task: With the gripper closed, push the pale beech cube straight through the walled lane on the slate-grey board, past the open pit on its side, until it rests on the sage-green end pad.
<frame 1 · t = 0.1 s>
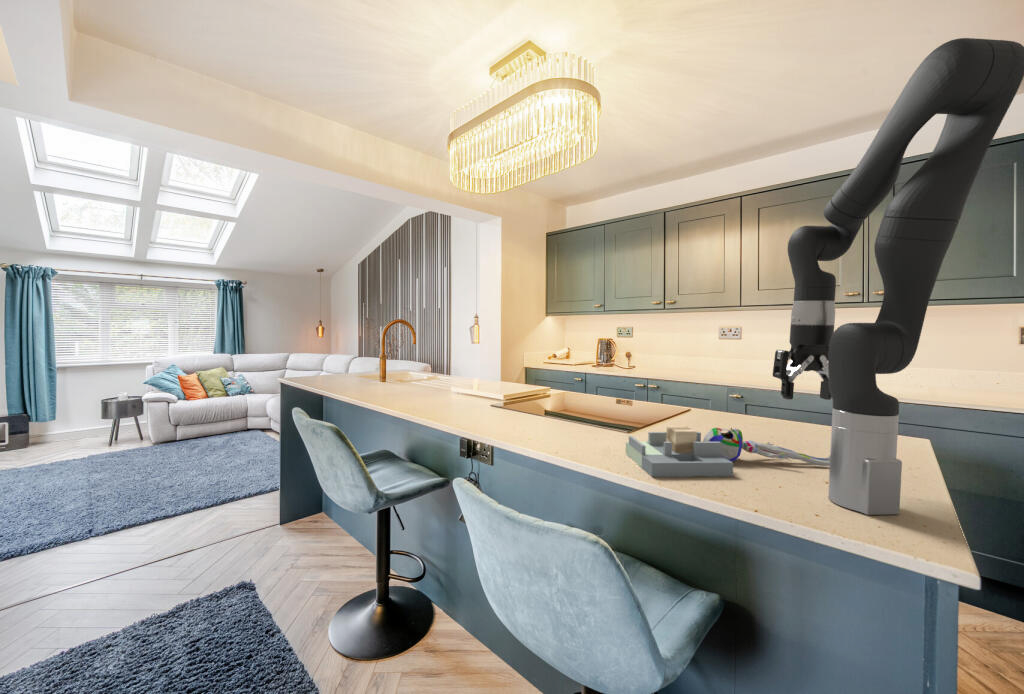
hand: (806, 398, 90), 17 cm above the table, tool pointing down, fingers open, 8 cm apart
toy: (770, 464, 101), on the table
block: (680, 449, 100), point 3 cm above the table, touching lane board
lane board: (672, 461, 100), on the table
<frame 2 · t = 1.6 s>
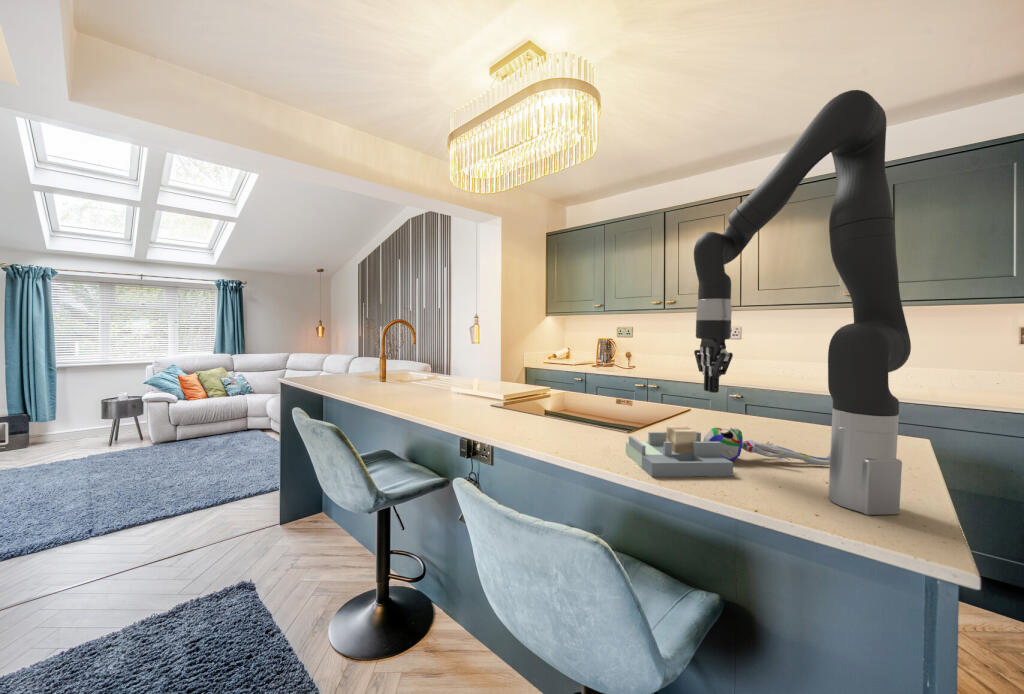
hand: (711, 391, 100), 17 cm above the table, tool pointing down, fingers closed
nothing on the table moved.
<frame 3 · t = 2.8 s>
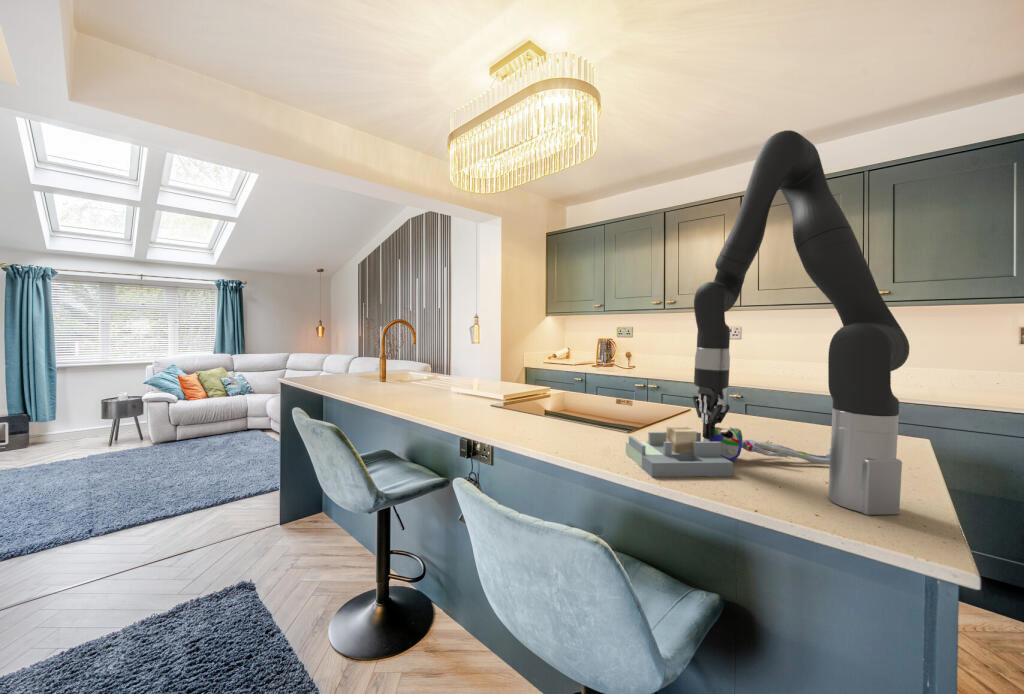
hand: (708, 438, 101), 6 cm above the table, tool pointing down, fingers closed
toy: (769, 462, 102), on the table, touching gripper
everything else where it was.
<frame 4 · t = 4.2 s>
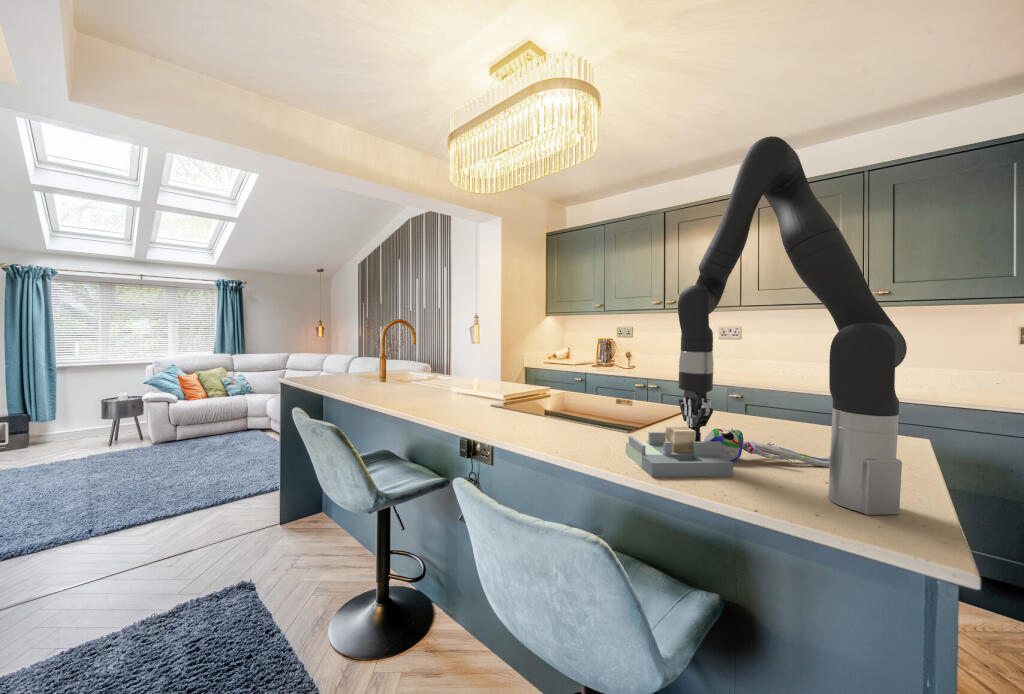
hand: (693, 441, 101), 5 cm above the table, tool pointing down, fingers closed
toy: (770, 464, 102), on the table
block: (679, 449, 100), point 3 cm above the table, touching gripper
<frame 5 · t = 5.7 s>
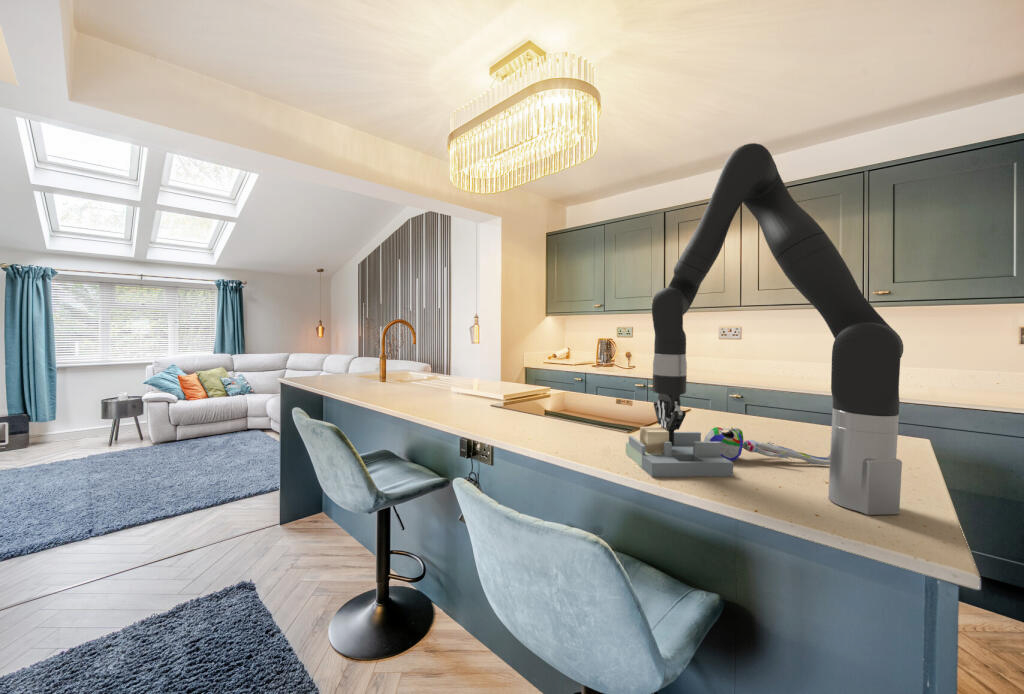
hand: (667, 445, 100), 4 cm above the table, tool pointing down, fingers closed
block: (653, 450, 100), point 3 cm above the table, touching gripper, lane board
everything else where it was.
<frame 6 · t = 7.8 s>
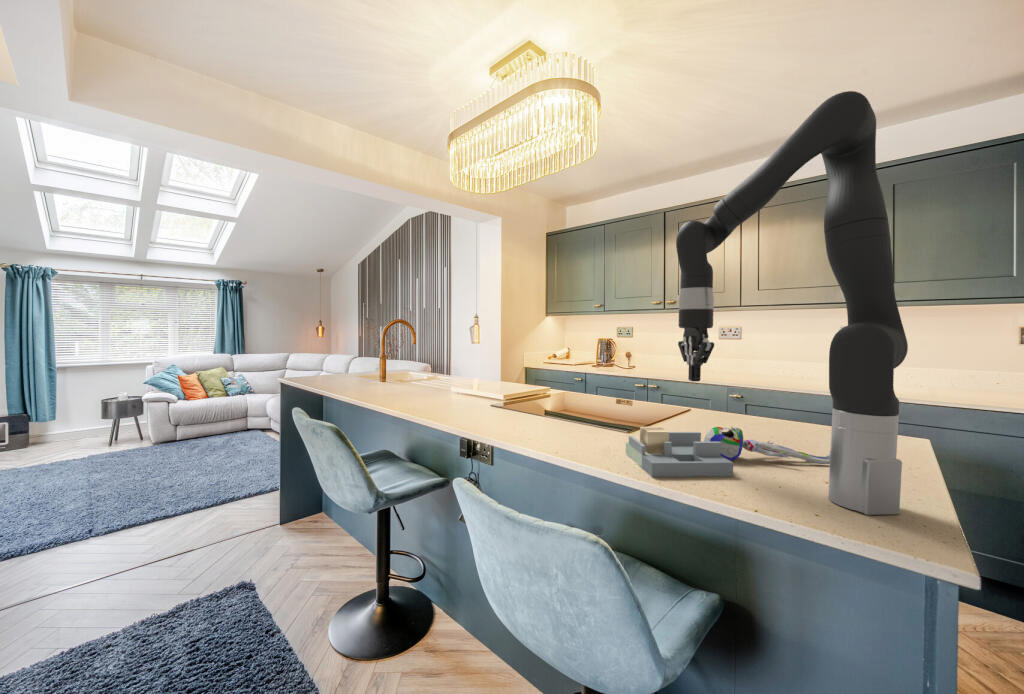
hand: (694, 380, 100), 19 cm above the table, tool pointing down, fingers closed
block: (653, 450, 100), point 3 cm above the table, touching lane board
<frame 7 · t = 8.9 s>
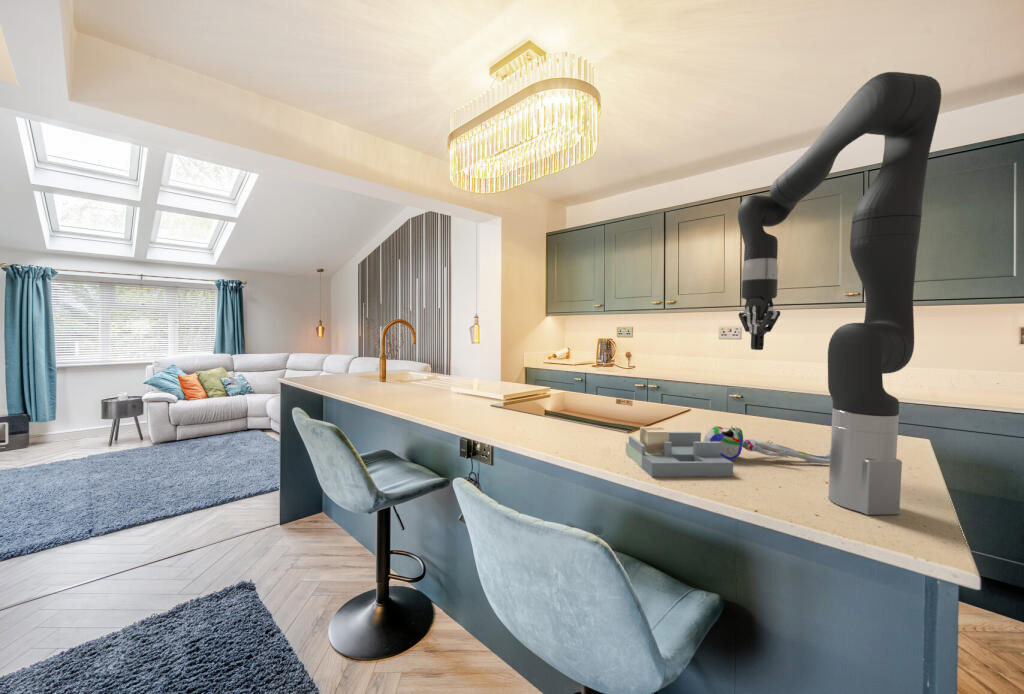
hand: (756, 349, 104), 27 cm above the table, tool pointing down, fingers closed
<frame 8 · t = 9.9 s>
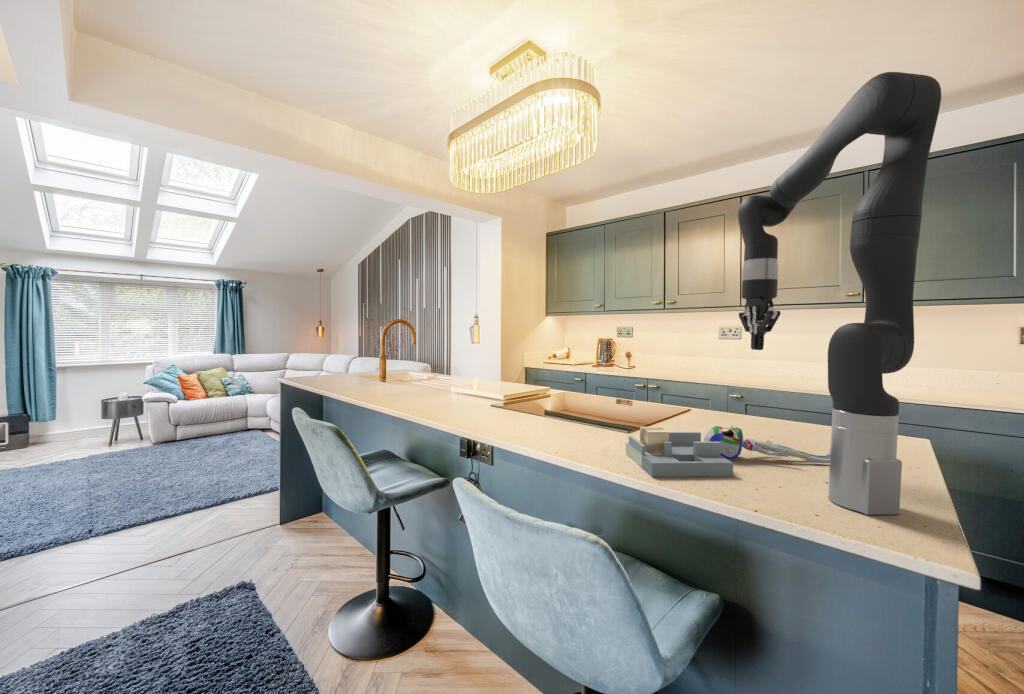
hand: (756, 349, 104), 27 cm above the table, tool pointing down, fingers closed
at the end: block 1.0 cm from the target spot on the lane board, point 3.0 cm above the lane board's base; block tilted 0° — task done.
